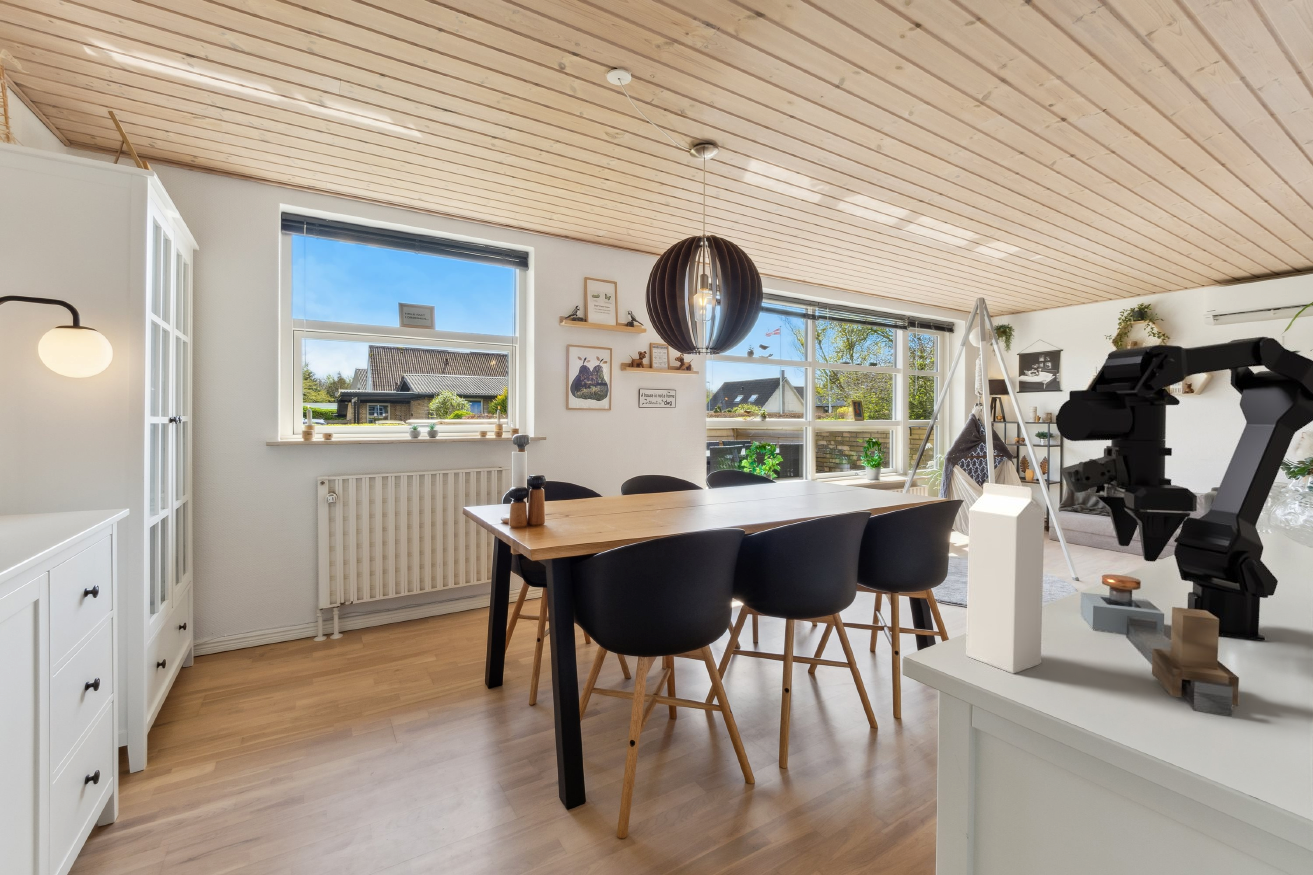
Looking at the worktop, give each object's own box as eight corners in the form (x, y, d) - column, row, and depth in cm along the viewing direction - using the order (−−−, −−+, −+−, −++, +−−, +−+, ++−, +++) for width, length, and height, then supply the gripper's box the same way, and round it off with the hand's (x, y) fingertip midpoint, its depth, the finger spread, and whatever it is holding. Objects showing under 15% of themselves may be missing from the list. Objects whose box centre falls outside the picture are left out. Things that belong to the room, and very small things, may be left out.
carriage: (1211, 682, 66) (1214, 608, 66) (1237, 705, 61) (1241, 625, 60) (1151, 673, 68) (1154, 601, 68) (1171, 695, 63) (1174, 617, 63)
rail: (1153, 640, 80) (1154, 618, 79) (1231, 716, 59) (1232, 687, 59) (1126, 637, 81) (1127, 615, 81) (1193, 710, 61) (1194, 681, 61)
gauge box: (1145, 622, 87) (1146, 599, 86) (1163, 638, 80) (1164, 613, 80) (1080, 614, 90) (1081, 592, 90) (1092, 629, 84) (1093, 605, 83)
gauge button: (1134, 606, 86) (1135, 576, 86) (1144, 615, 82) (1145, 584, 82) (1097, 602, 88) (1098, 572, 88) (1105, 611, 84) (1106, 580, 84)
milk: (1013, 674, 69) (1018, 489, 68) (964, 656, 74) (968, 483, 73) (1041, 663, 72) (1046, 486, 71) (993, 646, 77) (996, 480, 76)
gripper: (1050, 436, 91) (1049, 535, 92) (1088, 443, 74) (1086, 565, 75) (1138, 436, 87) (1137, 540, 88) (1200, 443, 70) (1197, 572, 71)
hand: (1136, 553), depth 80 cm, fingers open, 9 cm apart
